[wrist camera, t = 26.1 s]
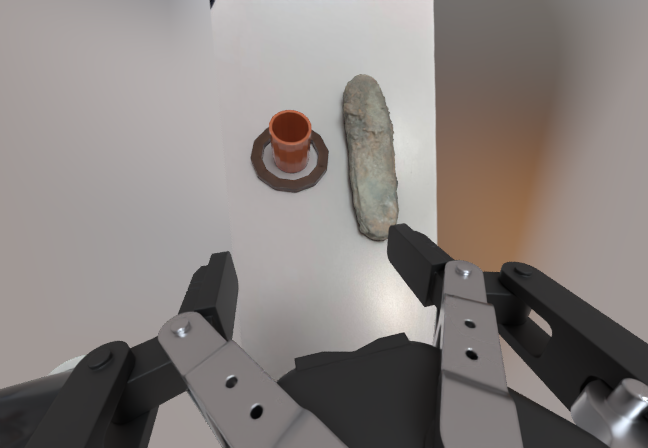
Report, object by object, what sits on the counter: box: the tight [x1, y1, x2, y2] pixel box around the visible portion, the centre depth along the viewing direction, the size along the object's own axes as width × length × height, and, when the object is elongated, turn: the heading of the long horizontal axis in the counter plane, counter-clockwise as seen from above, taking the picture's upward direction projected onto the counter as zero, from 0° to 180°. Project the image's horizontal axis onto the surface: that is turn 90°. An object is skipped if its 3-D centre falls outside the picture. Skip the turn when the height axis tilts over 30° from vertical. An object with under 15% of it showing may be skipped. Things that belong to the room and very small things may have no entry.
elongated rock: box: [343, 74, 399, 240], centre depth 47 cm, size 35×5×10 cm
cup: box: [269, 110, 311, 173], centre depth 43 cm, size 6×6×8 cm
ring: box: [251, 127, 329, 192], centre depth 46 cm, size 14×14×1 cm
